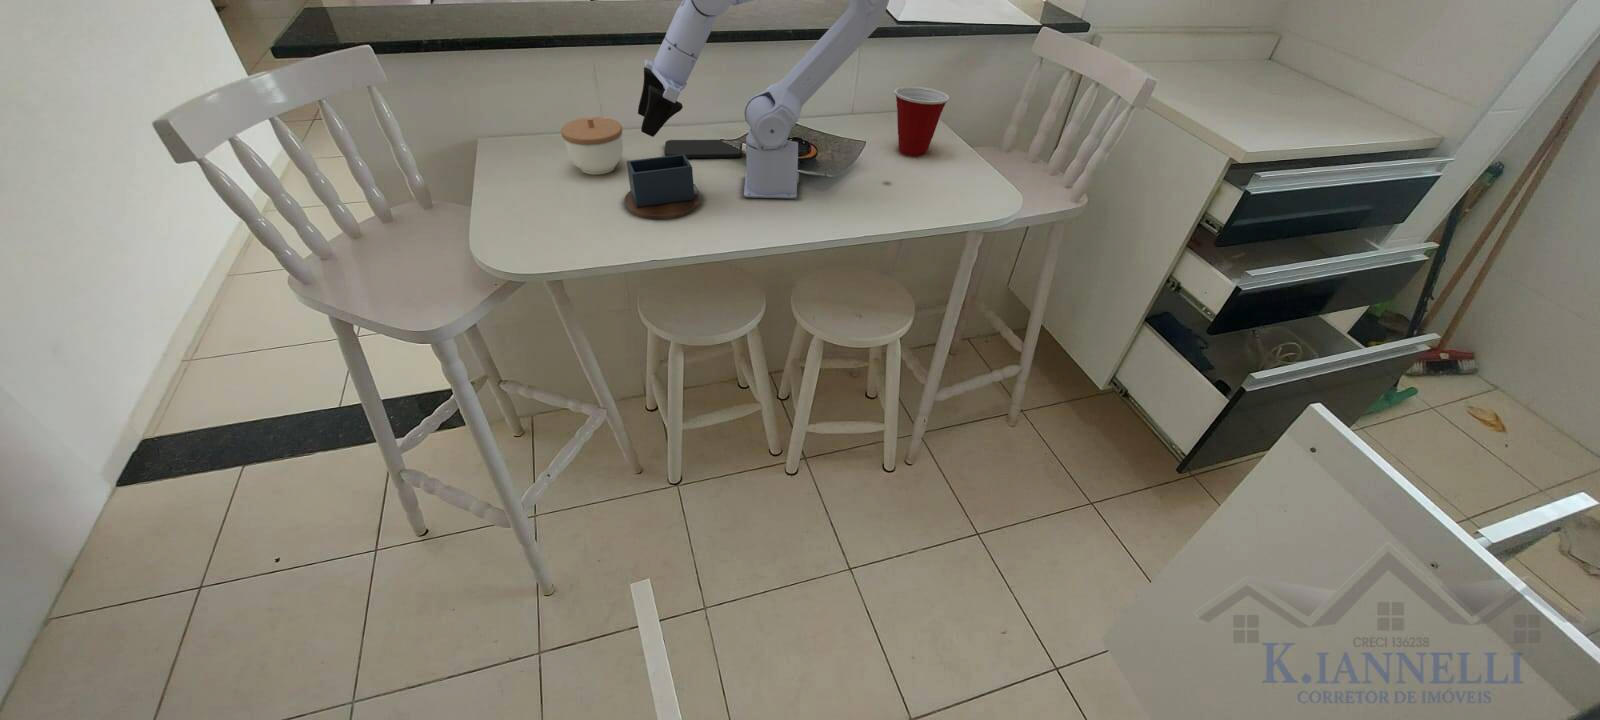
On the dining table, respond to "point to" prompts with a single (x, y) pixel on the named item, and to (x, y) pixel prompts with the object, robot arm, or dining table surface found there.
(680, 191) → the bin
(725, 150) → the phone
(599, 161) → the trinket box
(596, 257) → the dining table surface
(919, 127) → the plastic cup
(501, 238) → the dining table surface
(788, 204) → the dining table surface
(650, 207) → the disc
